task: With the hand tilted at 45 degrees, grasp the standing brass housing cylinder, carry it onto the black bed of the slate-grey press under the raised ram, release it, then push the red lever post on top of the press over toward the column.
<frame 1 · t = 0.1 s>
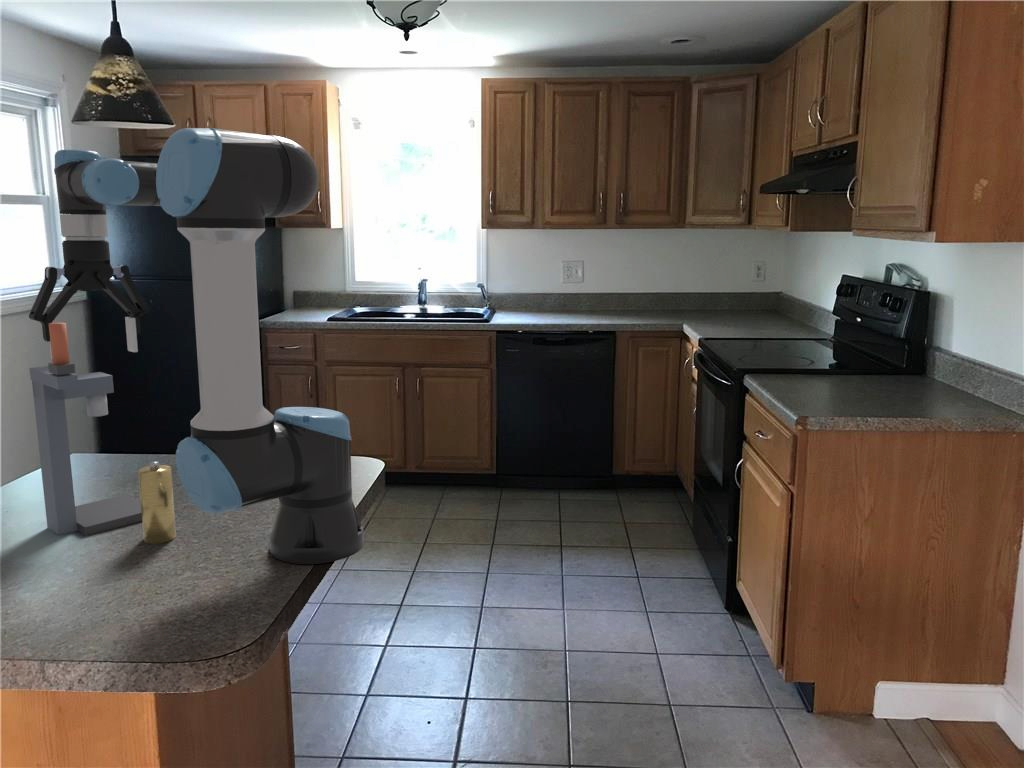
hand: (95, 355, 149), 28 cm above the counter, tool pointing down, fingers open, 13 cm apart
lever: (59, 348, 127), point 32 cm above the counter, slide at 0.0 cm
press: (107, 517, 143), on the counter
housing: (160, 537, 135), on the counter
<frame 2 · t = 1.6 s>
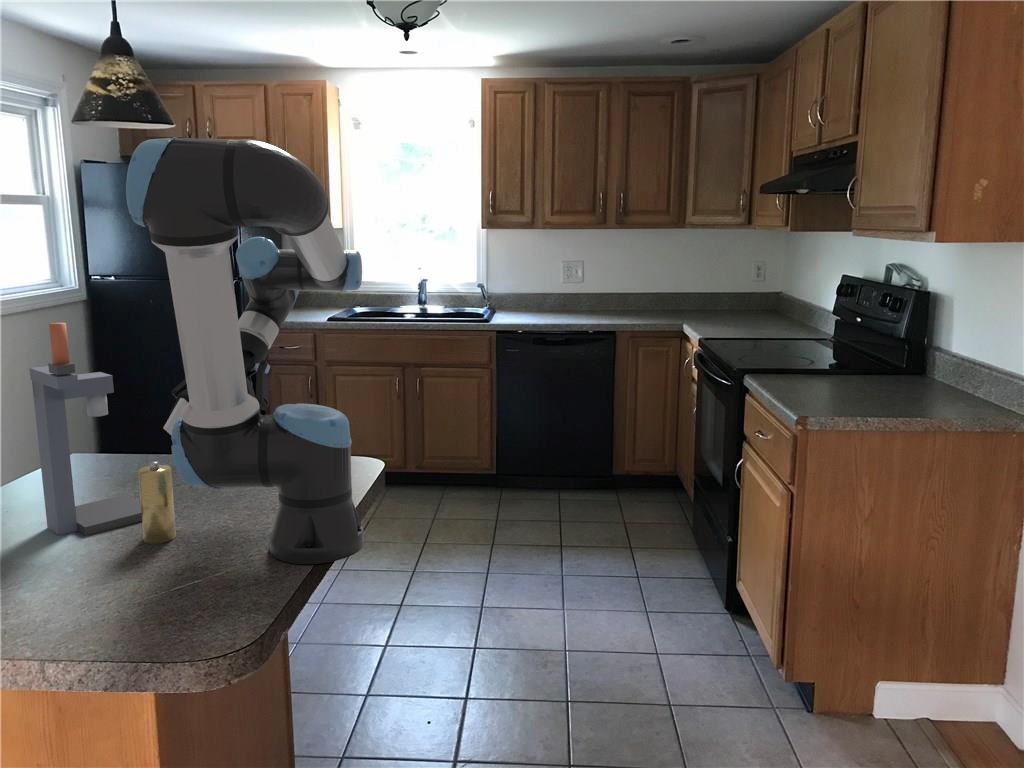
hand: (199, 436, 141), 15 cm above the counter, tool tilted 45°, fingers open, 13 cm apart
nothing on the counter moved.
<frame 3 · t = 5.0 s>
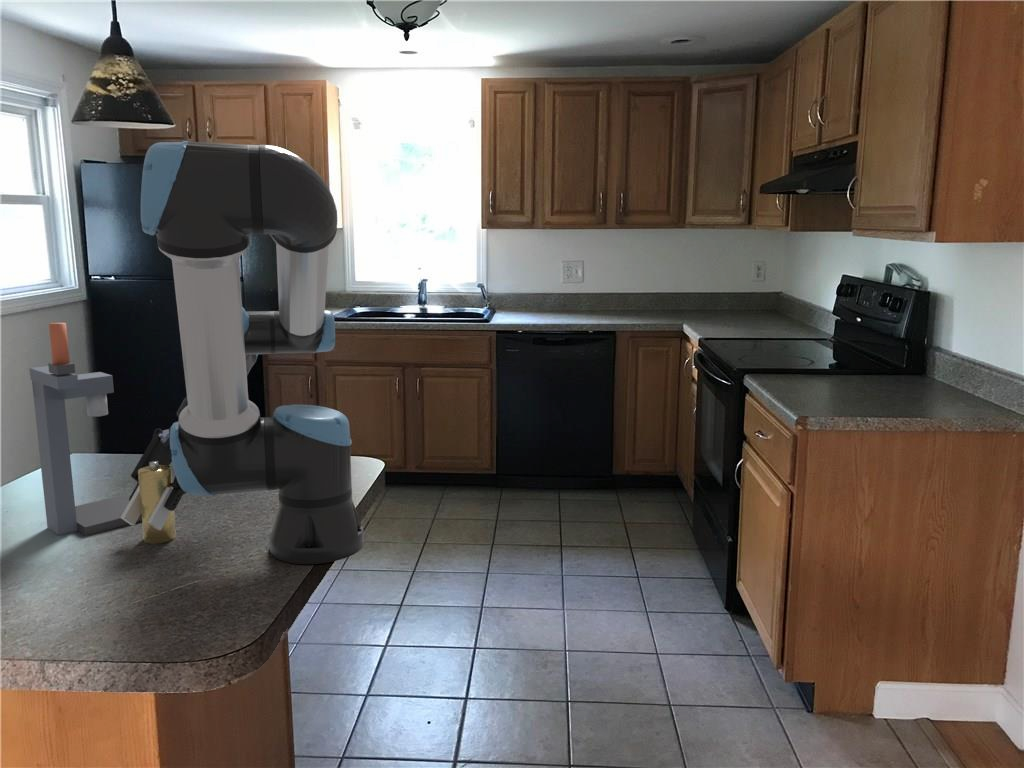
hand: (140, 523, 130), 4 cm above the counter, tool tilted 45°, fingers closed on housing, 5 cm apart
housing: (159, 537, 135), on the counter, touching gripper
everything else where it was.
when the fingers open (7 cm above the counter, at t = 10.9 s): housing drops 1 cm, resting on press.
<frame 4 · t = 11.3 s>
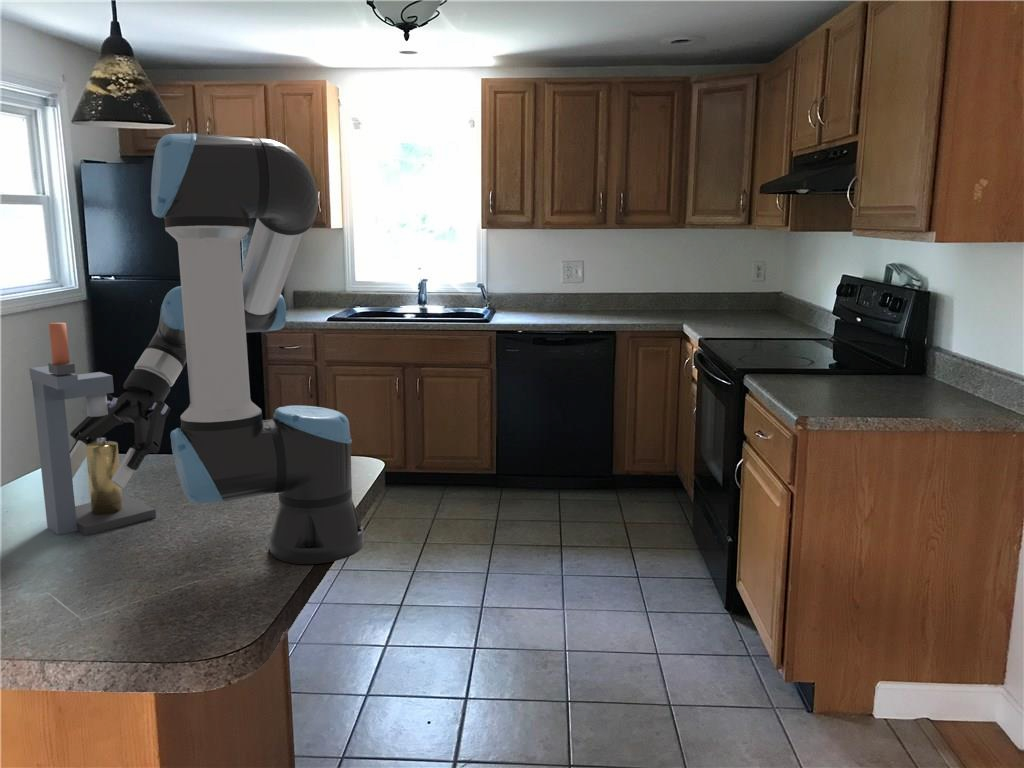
hand: (90, 480, 140), 8 cm above the counter, tool tilted 45°, fingers open, 11 cm apart
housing: (107, 509, 143), point 2 cm above the counter, touching press
everything else where it was.
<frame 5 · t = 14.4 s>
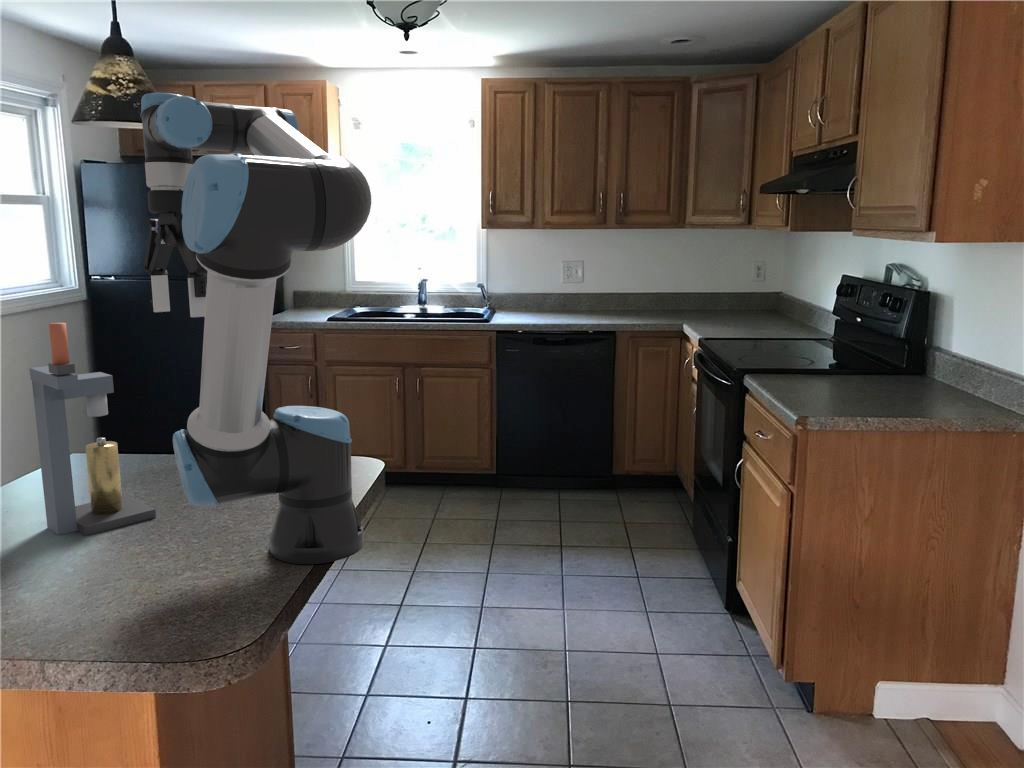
hand: (179, 314, 141), 36 cm above the counter, tool pointing down, fingers open, 13 cm apart
nothing on the counter moved.
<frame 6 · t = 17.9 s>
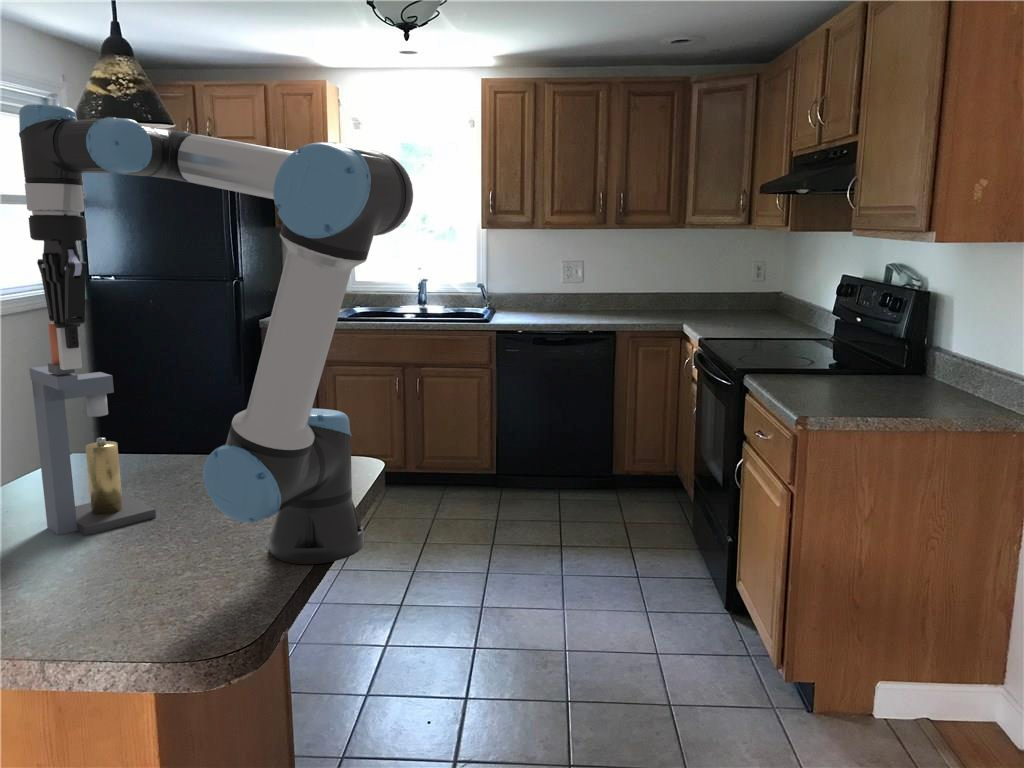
hand: (71, 368, 125), 30 cm above the counter, tool pointing down, fingers closed
lever: (59, 348, 127), point 32 cm above the counter, slide at 0.2 cm, touching gripper
everything else where it was.
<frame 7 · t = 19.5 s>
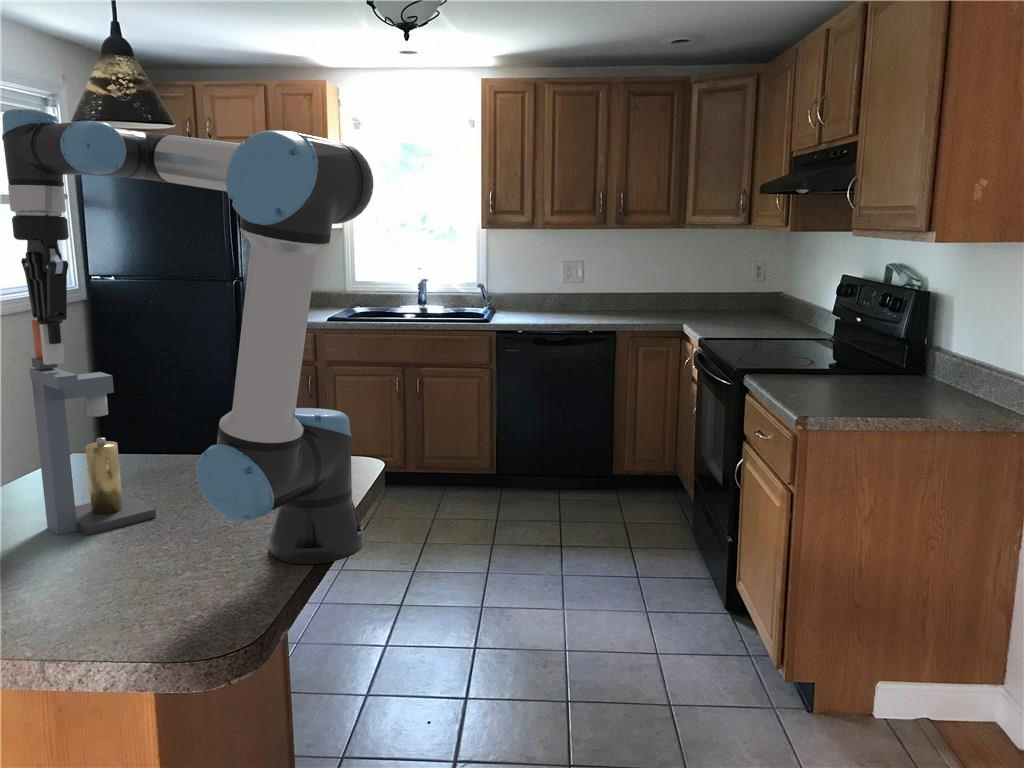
hand: (54, 363, 130), 29 cm above the counter, tool pointing down, fingers closed
lever: (42, 343, 132), point 32 cm above the counter, slide at 7.4 cm, touching gripper
everything else where it was.
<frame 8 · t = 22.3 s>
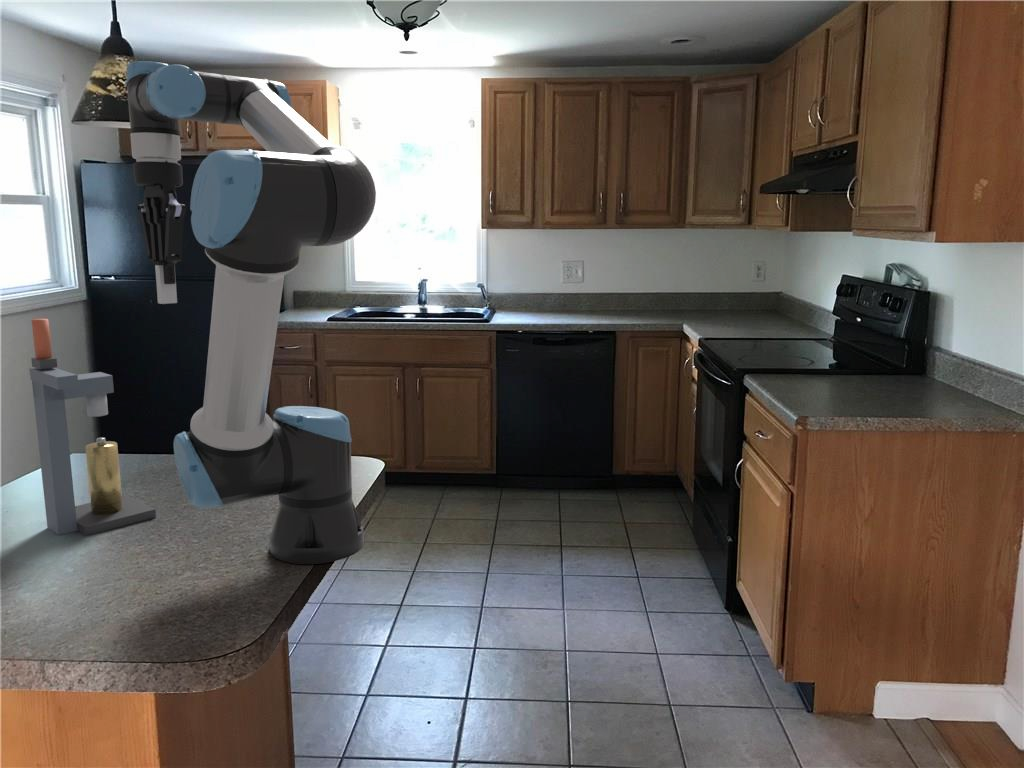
hand: (167, 303, 138), 38 cm above the counter, tool pointing down, fingers closed
lever: (42, 343, 132), point 32 cm above the counter, slide at 7.4 cm
everything else where it was.
at the end: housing inside the target area on the press (0.1 cm from its centre), point 1.5 cm above the press's base; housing tilted 0°; lever slide at 7.4 cm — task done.
